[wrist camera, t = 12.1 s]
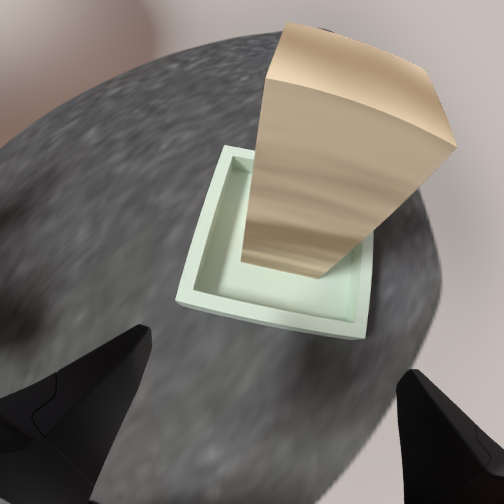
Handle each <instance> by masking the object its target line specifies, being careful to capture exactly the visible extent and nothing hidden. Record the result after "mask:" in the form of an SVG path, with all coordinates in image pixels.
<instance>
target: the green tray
mask: <svg viewBox="0 0 504 504" xmlns="http://www.w3.org/2000/svg"><path fill="white" fill-rule="evenodd" d="M254 157H255V151H252V150H247V149H242V148H237V147H232V146H226V145H224V148H223V151H222V153H221V156H220V159H219V162H218V164H217V167H216V170H215V173H214V176H213V179H212V181H211V184H210V187H209V190H208V193H207V196H206V199H205V202H204V205H203V208H202V211H201V215H200V218H199V221H198V224H197V227H196V230H195V234H194V237H193V240H192V243H191V247H190V250H189V253H188V257H187V260H186V264H185V267H184V271H183V274H182V278H181V281H180V285H179V288H178V292H177V296H176V300H175V301H177V302H178V303H179V304H180V305H181V306H184V307H188V308H192V309H196V310H199V311H204V312H208V313H212V314H216V315H220V316H224V317H229V318H233V319H238V320H242V321H247V322H251V323H256V324H261V325H266V326H271V327H276V328H281V329H286V330H292V331H297V332H303V333H308V334H314V335H320V336H326V337H333V338H339V339H346V340H358V339H365V336H366V328H367V320H368V311H369V302H370V291H371V278H372V262H373V235H374V230H373V231H372V232H371V233H370V234H369V235H368V236H367V237H366V238H365V239H364V240H362V241H361V242H360V243H359V244H358V245H357V246H356V247H355V248H353V249H352V250H351V251H350V252H349V253H348V254H347V255H345V256H344V257H343V258H342V259H341V260H340V261H338V262H337V263H336V264H335V265H334V266H333V267H331V268H330V269H329V270H328V271H327V272H326V273H324V274H323V275H322V276H321V277H320V278H318V279H315V278H310V277H306V276H301V275H297V274H292V273H288V272H283V271H279V270H274V269H270V268H265V267H261V266H256V265H252V264H248V263H243V262H241V254H242V246H243V239H244V231H245V223H246V216H247V208H248V201H249V193H250V186H251V178H252V171H253V164H254Z"/></svg>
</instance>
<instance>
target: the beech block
mask: <svg viewBox="0 0 504 504" xmlns="http://www.w3.org/2000/svg"><path fill="white" fill-rule="evenodd" d="M456 148H457V145H456V142H455V139H454V136H453V133H452V130H451V128H450V125H449V122H448V120H447V117H446V115H445V112H444V110H443V107H442V105H441V103H440V100H439V98H438V96H437V94H436V91H435V89H434V87H433V85H432V83H431V81H430V79H429V77H428V75H427V73H426V71H425V70H424V69H422V68H420V67H418V66H416V65H414V64H412V63H410V62H408V61H406V60H404V59H401V58H399V57H397V56H395V55H392V54H390V53H388V52H385V51H383V50H380V49H378V48H375V47H373V46H370V45H368V44H365V43H362V42H359V41H356V40H354V39H351V38H347V37H344V36H341V35H338V34H335V33H331V32H328V31H324V30H320V29H317V28H313V27H308V26H304V25H300V24H295V23H290V22H287V23H286V25H285V28H284V31H283V33H282V36H281V38H280V41H279V43H278V46H277V49H276V51H275V54H274V57H273V59H272V62H271V65H270V68H269V70H268V73H267V76H266V79H265V86H264V93H263V100H262V107H261V114H260V121H259V128H258V135H257V142H256V149H255V157H254V164H253V171H252V178H251V186H250V193H249V201H248V208H247V216H246V223H245V231H244V239H243V246H242V254H241V262H243V263H248V264H252V265H256V266H261V267H265V268H270V269H274V270H279V271H283V272H288V273H292V274H297V275H301V276H306V277H310V278H315V279H318V278H320V277H321V276H322V275H323V274H324V273H326V272H327V271H328V270H329V269H330V268H331V267H333V266H334V265H335V264H336V263H337V262H338V261H340V260H341V259H342V258H343V257H344V256H345V255H347V254H348V253H349V252H350V251H351V250H352V249H353V248H355V247H356V246H357V245H358V244H359V243H360V242H361V241H362V240H364V239H365V238H366V237H367V236H368V235H369V234H370V233H371V232H372V231H373V230H375V229H376V228H377V227H378V226H379V225H380V224H381V223H382V222H383V221H384V220H385V219H386V218H388V217H389V216H390V215H391V214H392V213H393V212H394V211H395V210H396V209H397V208H398V207H399V206H400V205H401V204H402V203H403V202H404V201H405V200H406V199H407V198H408V197H409V196H410V195H412V194H413V193H414V192H415V191H416V190H417V189H418V188H419V187H420V186H421V185H422V184H423V183H424V181H426V180H427V179H428V178H429V176H430V175H431V174H432V173H433V172H434V171H435V170H436V169H437V168H438V167H439V166H440V165H441V164H442V163H443V162H444V161H445V160H446V159H447V158H448V157H449V156H450V155H451V153H452V152H453V151H454V150H455V149H456Z"/></svg>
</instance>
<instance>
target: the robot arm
mask: <svg viewBox="0 0 504 504" xmlns="http://www.w3.org/2000/svg"><path fill="white" fill-rule="evenodd" d="M151 349H152V336H151V328H150V327H148V326H145V325H141V324H138V325H136V326H134V327H132V328H131V329H129V330H127V331H126V332H124V333H122V334H120V335H119V336H117V337H115V338H114V339H112V340H110V341H108V342H107V343H105V344H103V345H102V346H100V347H98V348H96V349H95V350H93V351H91V352H90V353H88V354H86V355H84V356H83V357H81V358H79V359H77V360H76V361H74V362H72V363H71V364H69V365H67V366H65V367H64V368H62V369H60V370H58V372H55V373H53V374H51V375H50V376H48V377H46V378H44V379H42V380H41V381H39V382H37V383H35V384H33V385H31V386H28V387H26V388H24V389H22V390H19V391H17V392H15V393H12V394H10V395H7V396H5V397H3V398H0V504H92V503H90V502H88V501H89V498H90V496H91V494H92V491H93V489H94V486H95V483H96V481H97V479H98V476H99V474H100V472H101V469H102V467H103V465H104V462H105V460H106V458H107V455H108V453H109V451H110V449H111V446H112V444H113V442H114V440H115V437H116V435H117V433H118V431H119V429H120V426H121V424H122V422H123V420H124V418H125V416H126V414H127V411H128V409H129V407H130V405H131V403H132V401H133V399H134V397H135V395H136V392H137V390H138V387H139V385H140V382H141V379H142V376H143V373H144V370H145V367H146V364H147V361H148V358H149V356H150V353H151ZM396 395H397V414H398V427H399V436H400V445H401V455H402V467H403V481H404V504H504V449H503V448H502V447H501V446H499V445H498V444H497V443H496V442H495V441H493V440H492V439H491V438H490V437H489V436H488V435H487V434H486V433H485V432H484V431H482V430H481V429H480V428H479V427H478V426H477V425H476V424H475V423H474V422H473V421H472V420H471V419H470V418H469V417H468V416H467V415H466V414H465V413H464V412H463V411H462V410H461V409H460V408H459V407H458V406H457V405H456V404H454V403H453V402H452V401H451V400H450V399H449V398H448V397H447V396H446V395H445V394H444V393H443V392H442V391H441V390H440V389H439V388H438V387H437V386H435V385H434V384H433V383H432V382H431V381H430V380H429V379H428V378H427V377H426V376H425V375H424V374H423V373H422V372H420V371H419V370H418V369H409V370H407V371H406V373H405V374H404V375H403V377H402V378H401V379H400V381H399V382H398V384H397V387H396Z"/></svg>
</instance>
